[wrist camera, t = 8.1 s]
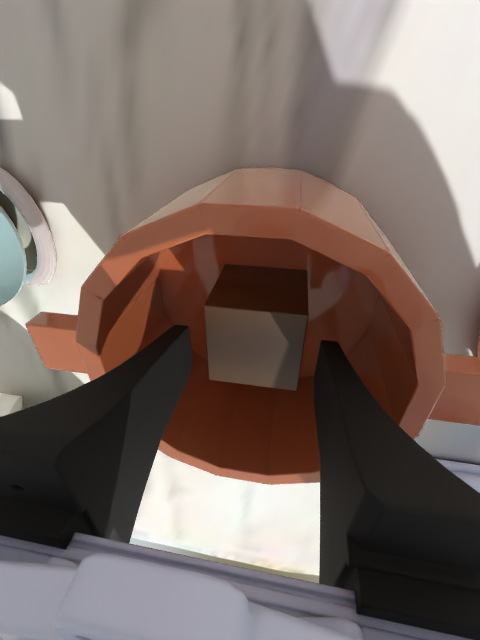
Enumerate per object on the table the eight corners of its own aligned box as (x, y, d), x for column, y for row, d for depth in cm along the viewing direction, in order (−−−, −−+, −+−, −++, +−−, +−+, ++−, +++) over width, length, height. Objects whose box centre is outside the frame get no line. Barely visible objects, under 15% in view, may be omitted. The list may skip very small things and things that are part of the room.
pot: (407, 402, 19) (448, 516, 13) (128, 367, 21) (70, 451, 16) (511, 174, 12) (684, 225, 6) (72, 161, 14) (-65, 191, 9)
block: (298, 337, 17) (297, 391, 14) (226, 329, 17) (208, 380, 14) (307, 269, 15) (308, 315, 11) (224, 263, 15) (203, 305, 12)
